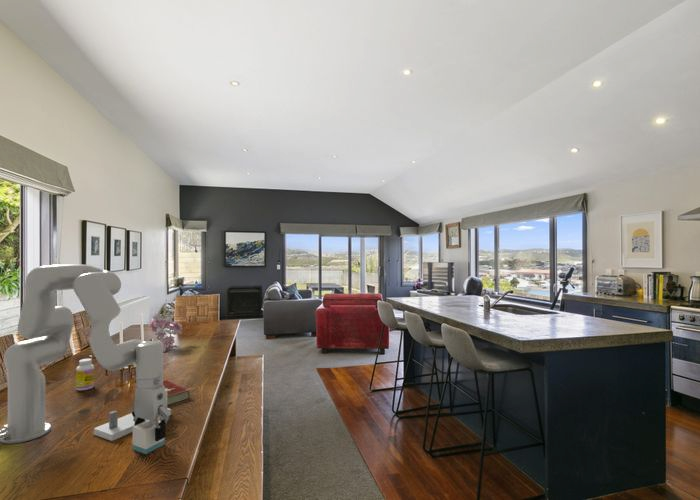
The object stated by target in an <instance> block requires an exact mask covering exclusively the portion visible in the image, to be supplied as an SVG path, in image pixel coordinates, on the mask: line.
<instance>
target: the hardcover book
mask: <svg viewBox="0 0 700 500" xmlns="http://www.w3.org/2000/svg"><path fill="white" fill-rule="evenodd" d="M163 385H164V387H165V390H167V406H168V405H172V404H174V403H177V402H180V401H183V400H186V399H190V395H191V393H190V390H189V389H187V388H186V387H183V386H181V385H178V384H176V383H174V382H173V381H169V380H168V379H163Z"/></svg>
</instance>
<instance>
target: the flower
mask: <svg viewBox="0 0 700 500" xmlns="http://www.w3.org/2000/svg"><path fill="white" fill-rule="evenodd" d="M162 315H163V314H162V313H160V314H158V312H157V313H155V314H154V315H153V317H151V318H150V320H151V321H147V324H148V328H149V329H151V332H152V333H154V335H155V336H156V337H155V341H158V342H161V343H162V345H163V354H164V353H166V351H167V347H173V346H174V345H173V344H175V343H176V342H175V338H176V337H175V336H176V335H177V334H178V335H179V334H181V335H182V334H183V332H182V330H183V325H182V324H181V323H179V322H176V321H172V320H173V319H172V317H167V315H166V316H165V318H164V316H162ZM167 334H168V336H167ZM173 335H175V336H173Z"/></svg>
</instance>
